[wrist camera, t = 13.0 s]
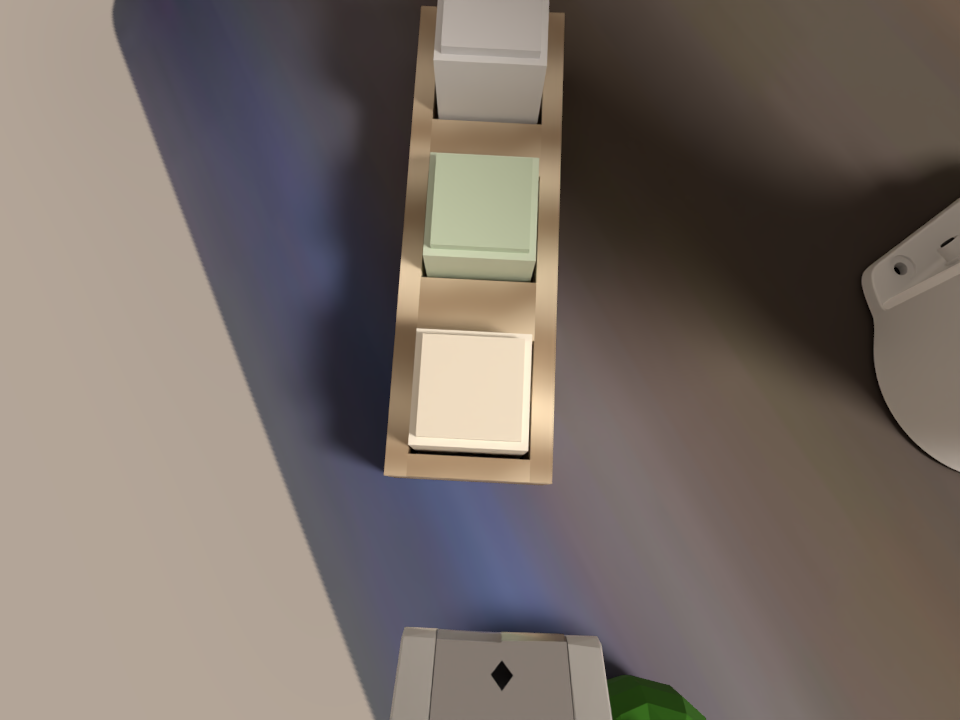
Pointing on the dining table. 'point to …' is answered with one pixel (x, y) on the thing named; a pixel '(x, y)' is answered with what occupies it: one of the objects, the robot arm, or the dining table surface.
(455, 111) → the grey key
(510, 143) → the keypad housing
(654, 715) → the bell pepper
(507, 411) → the cream key
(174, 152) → the dining table surface
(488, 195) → the sage key
